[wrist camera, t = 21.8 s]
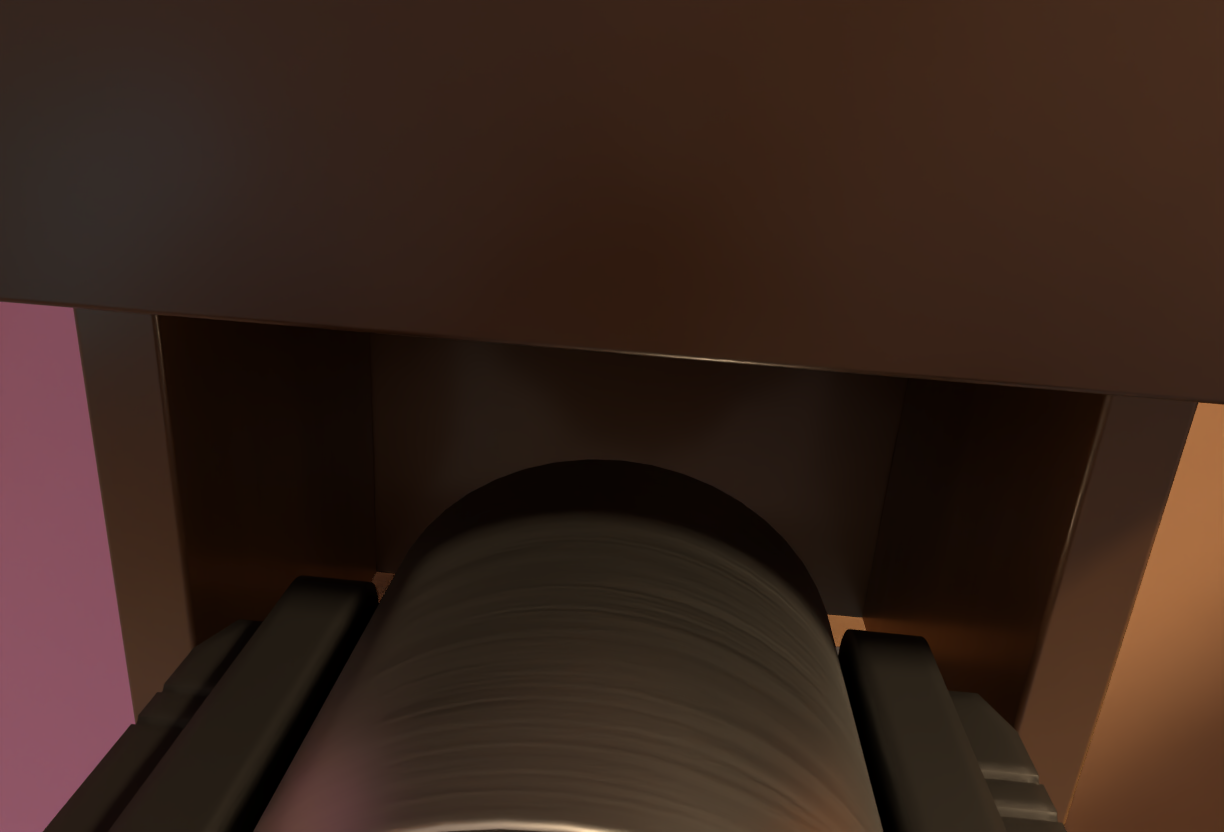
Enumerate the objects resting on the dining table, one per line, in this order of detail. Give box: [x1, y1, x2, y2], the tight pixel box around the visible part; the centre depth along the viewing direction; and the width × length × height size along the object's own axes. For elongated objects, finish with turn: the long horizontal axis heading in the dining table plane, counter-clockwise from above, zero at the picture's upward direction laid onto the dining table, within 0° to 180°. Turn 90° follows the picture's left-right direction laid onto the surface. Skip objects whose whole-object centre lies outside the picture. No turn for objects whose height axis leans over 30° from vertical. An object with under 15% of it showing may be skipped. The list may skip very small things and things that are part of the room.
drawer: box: [73, 308, 1198, 825], centre depth 13 cm, size 19×11×7 cm, turn 176°
